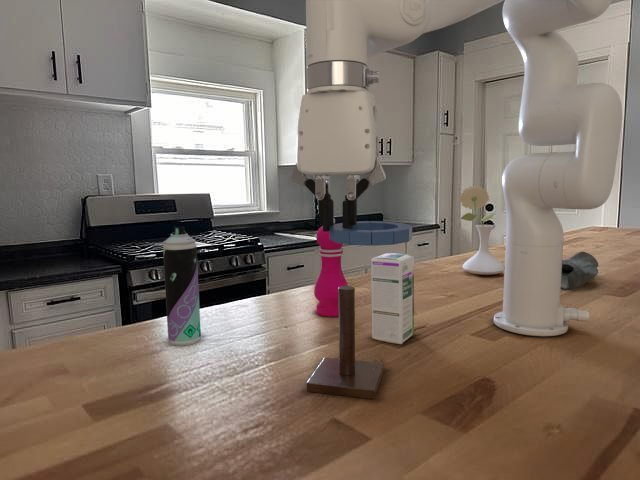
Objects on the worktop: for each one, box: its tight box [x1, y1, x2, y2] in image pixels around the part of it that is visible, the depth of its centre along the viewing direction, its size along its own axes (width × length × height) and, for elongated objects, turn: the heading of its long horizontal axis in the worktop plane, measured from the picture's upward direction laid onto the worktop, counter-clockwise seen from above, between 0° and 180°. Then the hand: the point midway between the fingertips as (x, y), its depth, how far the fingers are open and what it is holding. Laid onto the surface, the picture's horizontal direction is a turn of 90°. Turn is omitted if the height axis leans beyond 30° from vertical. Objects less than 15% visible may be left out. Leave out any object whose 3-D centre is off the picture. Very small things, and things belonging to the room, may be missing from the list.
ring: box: [329, 220, 413, 247], centre depth 59 cm, size 10×10×2 cm
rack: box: [306, 285, 385, 400], centre depth 63 cm, size 9×9×13 cm
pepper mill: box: [313, 218, 349, 318], centre depth 95 cm, size 7×7×20 cm
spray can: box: [162, 226, 202, 347], centre depth 80 cm, size 6×6×20 cm
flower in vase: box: [458, 185, 505, 276], centre depth 131 cm, size 13×11×25 cm
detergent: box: [561, 251, 599, 290], centre depth 122 cm, size 13×7×25 cm
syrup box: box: [370, 252, 415, 345], centre depth 80 cm, size 6×6×14 cm
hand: (338, 229), depth 60 cm, fingers closed on ring, 2 cm apart
